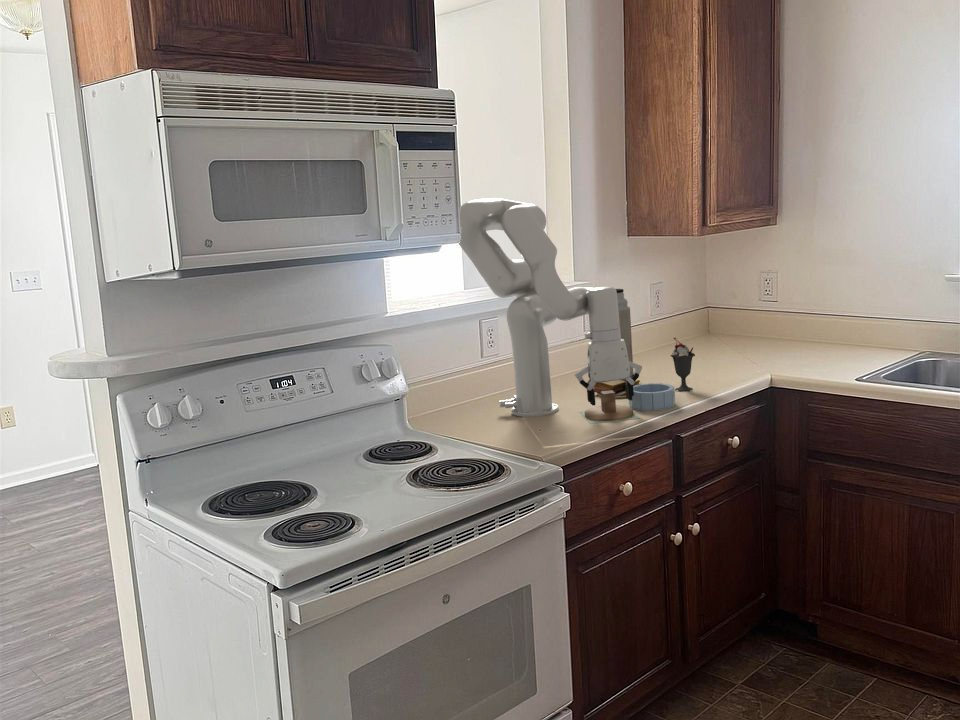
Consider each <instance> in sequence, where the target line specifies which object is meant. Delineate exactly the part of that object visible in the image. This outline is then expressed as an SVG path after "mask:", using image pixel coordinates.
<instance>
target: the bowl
mask: <svg viewBox="0 0 960 720" xmlns="http://www.w3.org/2000/svg"><path fill="white" fill-rule="evenodd" d="M633 390H634V396H632V400H628V403H629V407H630V408H632V409H633V410H636V411H644V412H645V411H646V412H653V411H655V412H657V411H662V410H669V409H671V408H673V407H674V406H675V403H676V398H675V397H676V395H675V386H673V385H672V384H667V383H661V382H659V383H658V382H656V383H655V382H653V383H652V382H651V383H650V382H649V383H641V384H640V383H639V385H635V386H633Z"/></svg>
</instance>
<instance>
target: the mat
mask: <svg viewBox="0 0 960 720" xmlns="http://www.w3.org/2000/svg"><path fill="white" fill-rule="evenodd" d="M585 411H586V410H584V411H578V413H579V415H581V417H583V418H584V419H585V420H586V421H587V422H588V423H589V424H591V425H593V424H601V423H611V422H612V423H613V421H595V420H590V419H587V418H586V417H585ZM633 413H634V414H633V416H631V417H629V418H626V419H622V420H616V421H615V422H620V421H627V420H628V421H629V420H637V419H638V420H639V419H642V417H641V416H640V415H638V414H637V413H635V412H634V411H633Z"/></svg>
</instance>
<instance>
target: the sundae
mask: <svg viewBox="0 0 960 720" xmlns="http://www.w3.org/2000/svg"><path fill="white" fill-rule="evenodd" d="M672 339H673V340H675V341H676V344H675V345H674V349H673V350H672V352H671V355H670V357H671V358H672V361H673V366H674V369H675V370H674V371H675V373H676V375H677V376H678V377H679V378H681V382H680V383H681V384H680V386H679V387H675V388H674V391H676V390H678V391H677V392H681V391H685V392H691V391H693V390H694V389H693V387H690V386H688V385H687V381H686V379H687V377H688V376H689V375H690V374H691V373H692V371H691V370H692V364H693V363H692V362H693V358H694V357H696V355H695V353H694V352H693V350H694V347H691V349H689V346H687V345H685V344H683V343H682V342H680V341H679V340H678V339H677V338H676V337H673V338H672ZM690 390H691V391H690Z"/></svg>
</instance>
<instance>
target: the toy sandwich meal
mask: <svg viewBox="0 0 960 720" xmlns="http://www.w3.org/2000/svg"><path fill="white" fill-rule="evenodd" d="M626 383H627V382H626V381H622V380H616V381H608V382H600V383H597V382H596V384H595V385H594V387H593V390H594V392H595V393H596V394H597V395H598V396H599V397H601V391H611V390H612V391H613V392H615V400H616V399H618V400H619V399H627V398H626V387H625V384H626ZM639 384H640V379H637V380H636V381H635V383H634V384H633V386H635V385H639Z"/></svg>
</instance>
